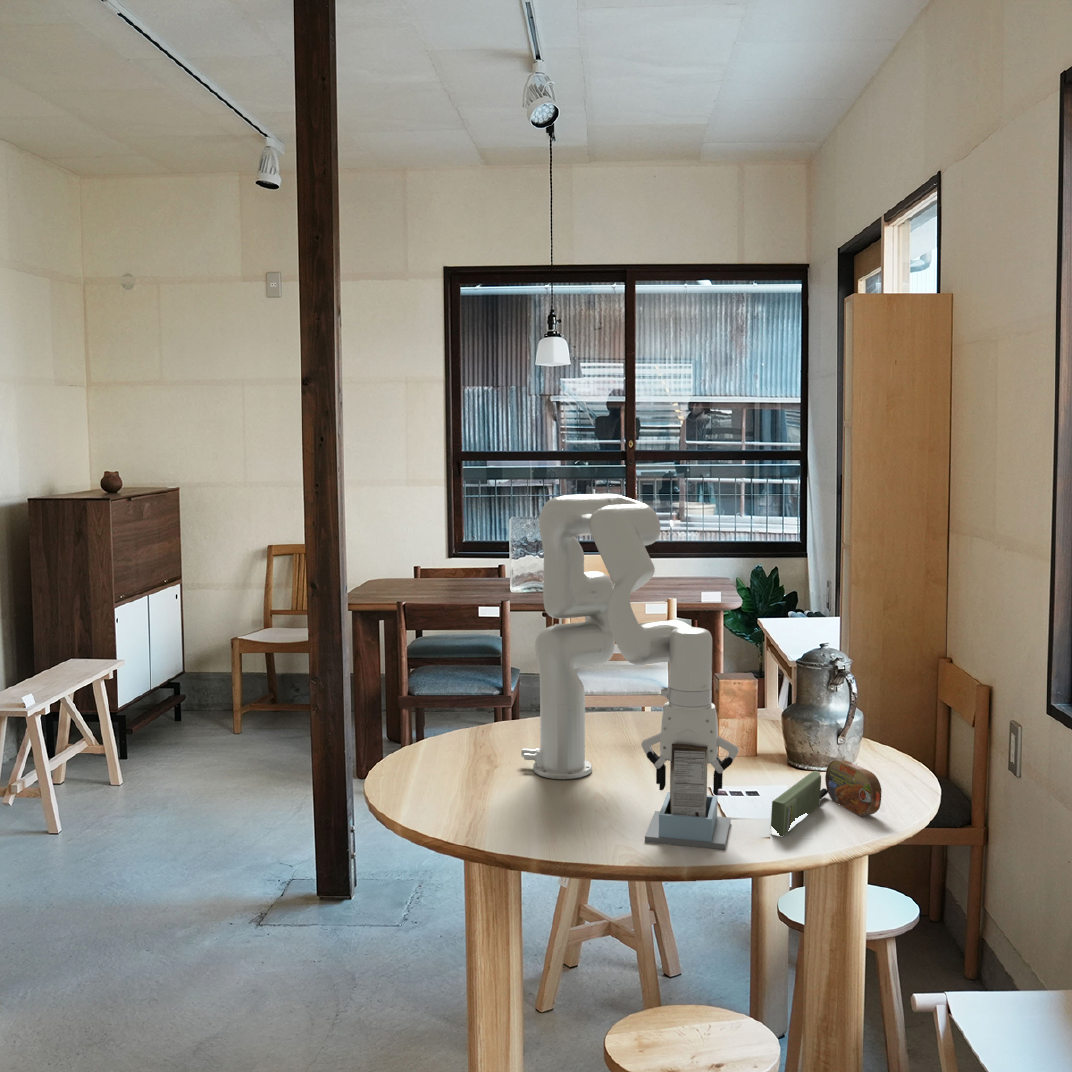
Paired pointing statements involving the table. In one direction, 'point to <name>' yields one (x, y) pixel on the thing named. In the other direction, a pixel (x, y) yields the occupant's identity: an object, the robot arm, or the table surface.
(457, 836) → the table surface
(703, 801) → the coffee box
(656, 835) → the light blue open box
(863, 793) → the tin
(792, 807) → the handheld radio
